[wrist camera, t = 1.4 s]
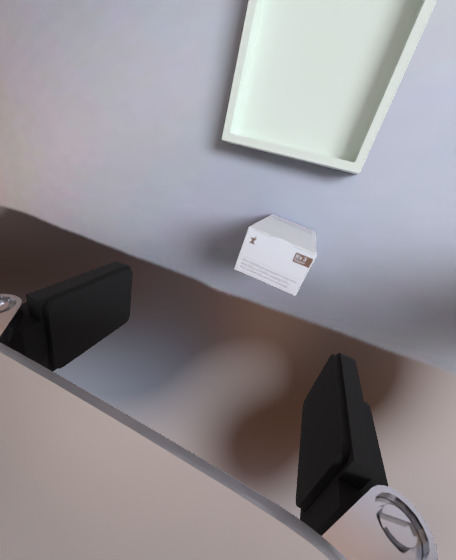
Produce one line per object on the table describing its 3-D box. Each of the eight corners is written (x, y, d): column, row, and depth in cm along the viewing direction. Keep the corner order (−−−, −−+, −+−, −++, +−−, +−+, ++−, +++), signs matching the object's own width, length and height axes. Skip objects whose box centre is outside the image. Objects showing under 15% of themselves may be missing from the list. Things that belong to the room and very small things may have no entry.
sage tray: (445, -28, 19) (461, -56, 16) (356, 174, 25) (359, 173, 23) (266, -37, 22) (260, -62, 20) (229, 143, 29) (221, 139, 26)
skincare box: (259, 243, 32) (228, 272, 21) (272, 211, 30) (244, 224, 19) (303, 261, 30) (293, 301, 20) (319, 229, 28) (318, 254, 18)
